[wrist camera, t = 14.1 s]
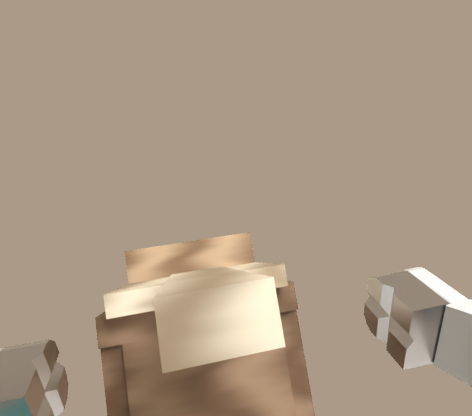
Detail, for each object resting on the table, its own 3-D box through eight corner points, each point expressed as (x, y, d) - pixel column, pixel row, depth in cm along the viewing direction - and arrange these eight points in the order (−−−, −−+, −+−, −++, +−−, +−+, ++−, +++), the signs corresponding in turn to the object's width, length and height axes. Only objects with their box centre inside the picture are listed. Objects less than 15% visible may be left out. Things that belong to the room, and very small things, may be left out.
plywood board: (-11, 411, 8) (-23, 232, 9) (137, 294, 36) (132, 252, 36) (415, 318, 10) (384, 177, 11) (247, 275, 38) (241, 235, 38)
